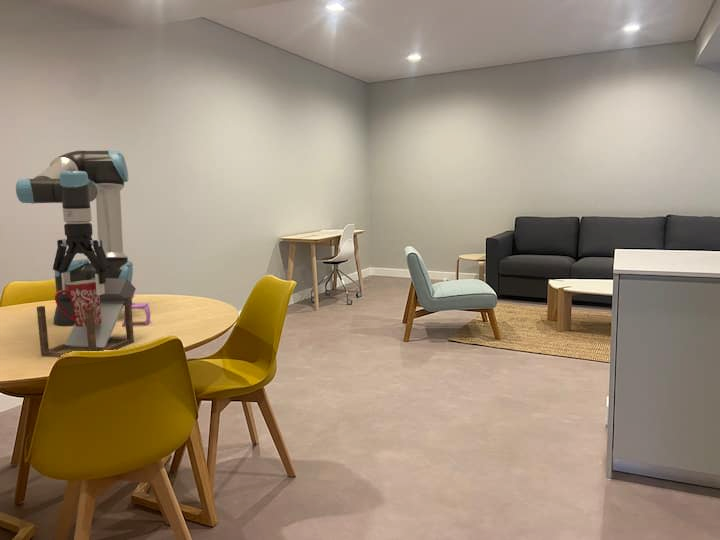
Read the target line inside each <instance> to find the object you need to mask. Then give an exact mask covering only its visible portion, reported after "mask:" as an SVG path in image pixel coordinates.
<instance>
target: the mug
mask: <svg viewBox="0 0 720 540" xmlns="http://www.w3.org/2000/svg"><path fill="white" fill-rule="evenodd" d="M67 286H68V289H69V290H60V291H58V292H57V293H55V295H54V301H55V304H56V307H57V306H58V307H59V308H60V309H61V310H62V311H63V312H64V313H65V314H66V315H67V316H68V317H70V318H71V319H72V320H74V321H75V325H76V326H77V327H87V325H86V314H85V309H87V308H93V312H94V324H95V325H97V324H100V323H101V309H100V295H97V292H96V280H84V281H76V282H70V283H67ZM60 293H66V294H67V296H68V297H69V298H70V300H71V305H72V310H73V315H71V314H69V313H68V312H67V311H65V310H64V309H63V308H62V307H61V305H60V304H59V301H58V296H59V294H60Z"/></svg>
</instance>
